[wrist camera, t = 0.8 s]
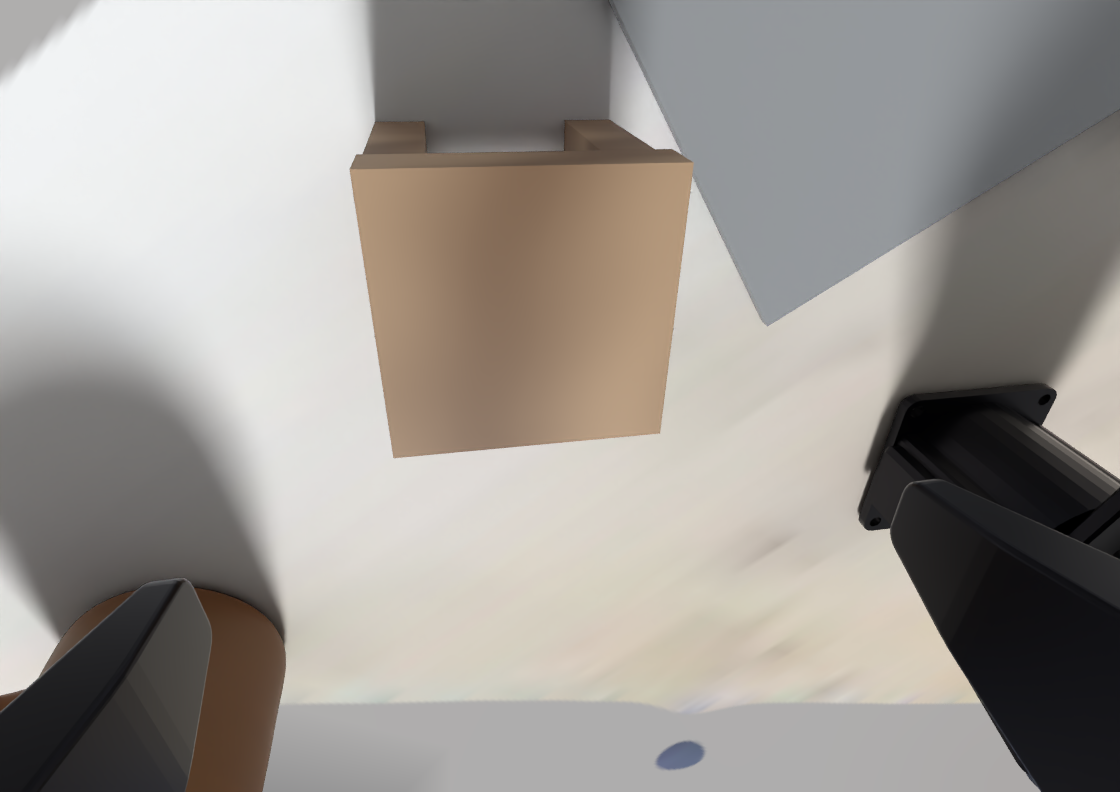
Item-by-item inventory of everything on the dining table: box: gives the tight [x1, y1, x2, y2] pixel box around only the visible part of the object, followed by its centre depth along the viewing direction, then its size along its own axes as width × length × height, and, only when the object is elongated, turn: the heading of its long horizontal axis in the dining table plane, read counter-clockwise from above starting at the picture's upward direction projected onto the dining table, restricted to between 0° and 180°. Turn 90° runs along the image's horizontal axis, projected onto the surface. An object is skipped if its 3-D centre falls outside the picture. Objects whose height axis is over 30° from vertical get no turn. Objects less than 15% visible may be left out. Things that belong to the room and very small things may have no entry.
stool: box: [350, 120, 694, 458], centre depth 15 cm, size 6×6×6 cm
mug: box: [0, 588, 286, 792], centre depth 19 cm, size 12×8×9 cm, turn 43°
